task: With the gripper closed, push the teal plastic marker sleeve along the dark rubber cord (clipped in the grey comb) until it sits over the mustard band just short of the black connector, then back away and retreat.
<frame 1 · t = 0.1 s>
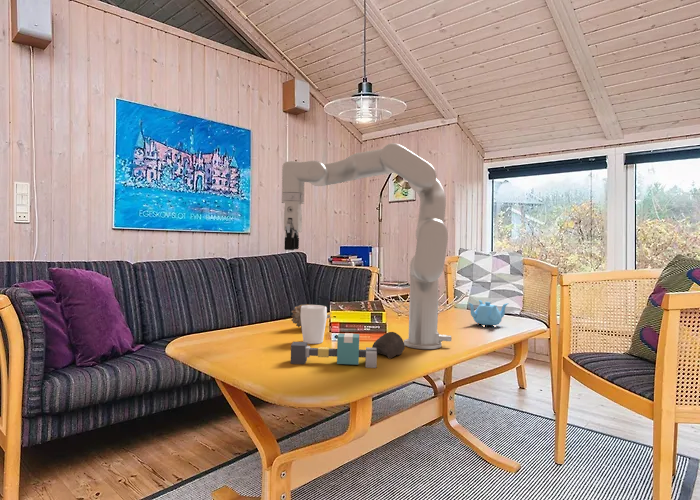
hand: (291, 249, 159), 31 cm above the table, fingers open, 9 cm apart
teapot: (487, 326, 198), on the table
stone: (388, 355, 145), on the table
sleeve: (348, 348, 133), point 4 cm above the table, slide at 0.0 cm
pine cone: (315, 328, 184), on the table
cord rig: (333, 363, 133), on the table
cup: (313, 342, 160), on the table
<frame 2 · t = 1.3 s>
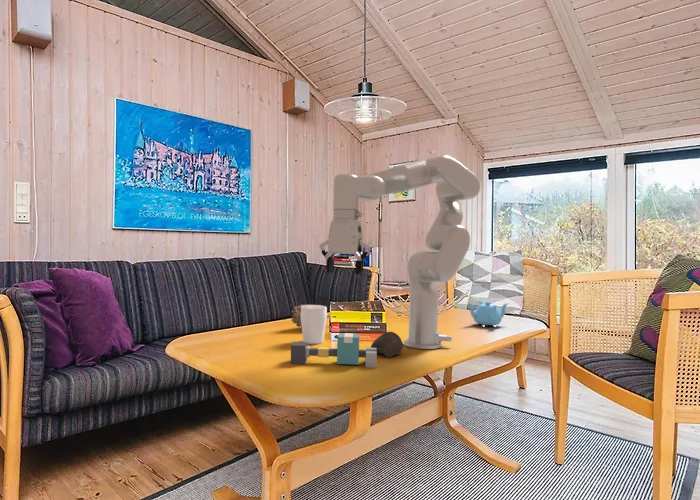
hand: (344, 273, 141), 25 cm above the table, fingers open, 9 cm apart
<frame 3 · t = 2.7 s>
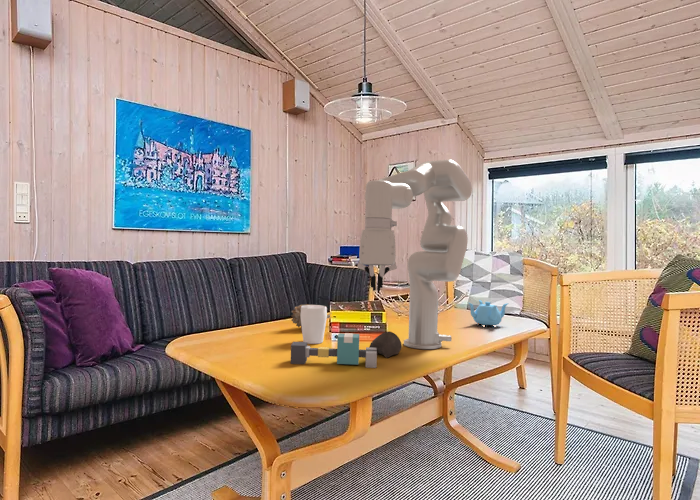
hand: (376, 290, 132), 21 cm above the table, fingers closed
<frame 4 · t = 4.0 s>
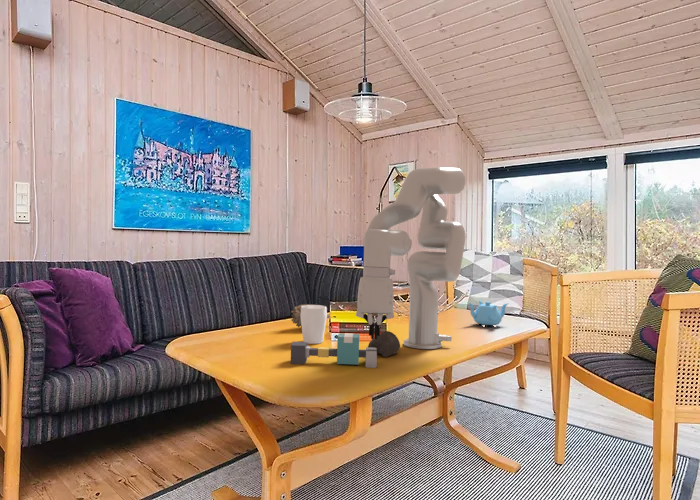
hand: (374, 338, 132), 8 cm above the table, fingers closed
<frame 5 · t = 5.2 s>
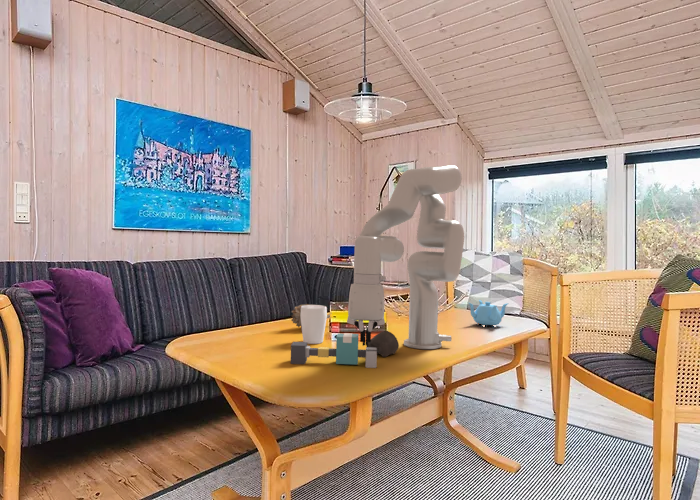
hand: (365, 344, 133), 6 cm above the table, fingers closed
sleeve: (347, 348, 133), point 4 cm above the table, slide at 0.3 cm, touching gripper
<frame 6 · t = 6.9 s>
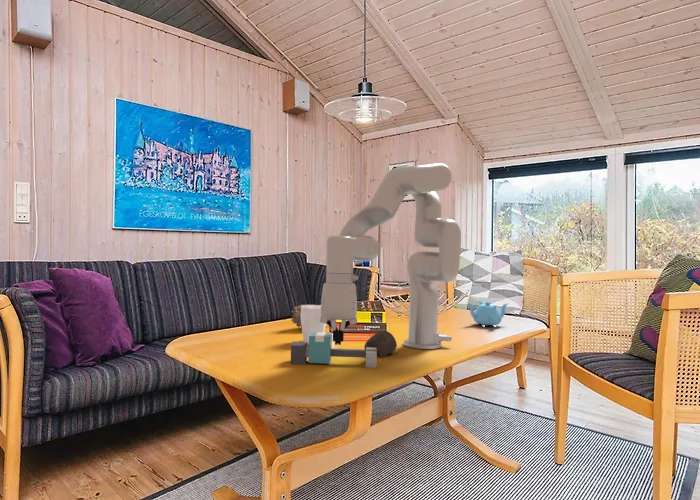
hand: (338, 343, 133), 6 cm above the table, fingers closed
sleeve: (320, 347, 133), point 4 cm above the table, slide at 8.0 cm, touching gripper
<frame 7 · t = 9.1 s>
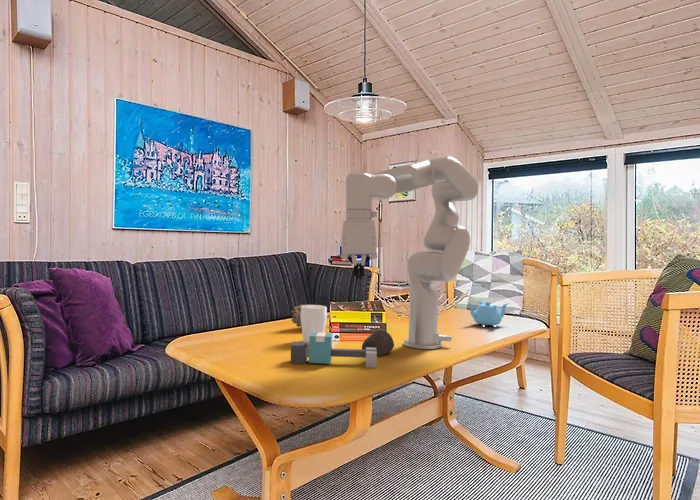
hand: (358, 278, 138), 24 cm above the table, fingers closed
sleeve: (320, 347, 133), point 4 cm above the table, slide at 7.8 cm
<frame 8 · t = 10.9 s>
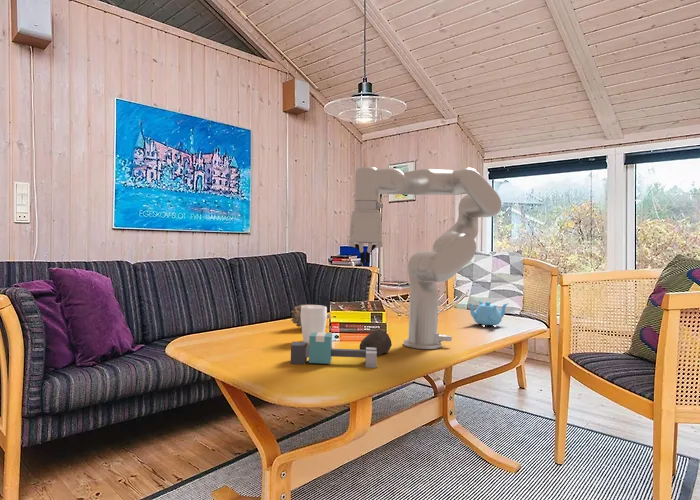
hand: (364, 265, 148), 27 cm above the table, fingers closed
at the end: sleeve slide at 7.8 cm; sleeve moved 7.8 cm from its start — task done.
